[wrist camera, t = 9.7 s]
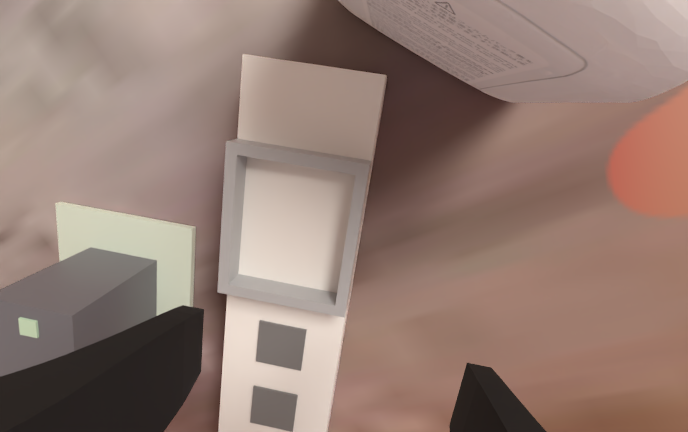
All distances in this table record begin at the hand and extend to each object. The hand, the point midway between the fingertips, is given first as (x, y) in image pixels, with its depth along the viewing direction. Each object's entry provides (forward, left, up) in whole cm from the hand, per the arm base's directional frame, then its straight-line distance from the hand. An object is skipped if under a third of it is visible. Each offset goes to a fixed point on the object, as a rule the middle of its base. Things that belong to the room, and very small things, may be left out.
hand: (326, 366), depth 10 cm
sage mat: (-6, +13, -10) cm, 18 cm away
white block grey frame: (-3, +3, -10) cm, 11 cm away
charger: (-6, +13, -10) cm, 17 cm away
